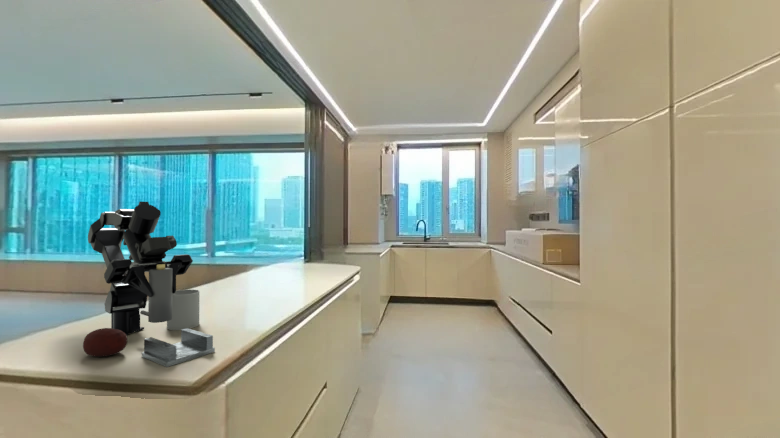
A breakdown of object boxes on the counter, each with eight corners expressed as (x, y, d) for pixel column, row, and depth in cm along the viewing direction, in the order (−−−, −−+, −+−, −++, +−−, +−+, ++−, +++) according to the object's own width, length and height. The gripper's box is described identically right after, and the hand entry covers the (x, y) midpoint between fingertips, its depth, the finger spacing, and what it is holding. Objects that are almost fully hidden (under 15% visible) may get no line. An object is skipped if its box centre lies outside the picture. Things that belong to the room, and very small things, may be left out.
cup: (184, 330, 106) (185, 295, 106) (160, 329, 108) (160, 294, 108) (205, 322, 114) (205, 290, 114) (181, 321, 116) (182, 289, 116)
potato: (102, 348, 92) (102, 323, 92) (137, 351, 90) (137, 325, 90) (71, 359, 84) (71, 332, 84) (108, 362, 82) (108, 335, 82)
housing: (141, 356, 86) (141, 339, 86) (189, 343, 95) (189, 327, 95) (166, 367, 80) (166, 348, 80) (214, 351, 89) (214, 335, 89)
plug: (130, 316, 95) (131, 262, 95) (151, 312, 100) (152, 260, 99) (154, 323, 89) (155, 266, 89) (176, 319, 93) (176, 264, 93)
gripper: (110, 225, 86) (132, 278, 81) (189, 224, 102) (213, 268, 97) (94, 257, 91) (115, 309, 85) (173, 251, 107) (195, 295, 101)
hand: (163, 294), depth 92 cm, fingers closed on plug, 5 cm apart
